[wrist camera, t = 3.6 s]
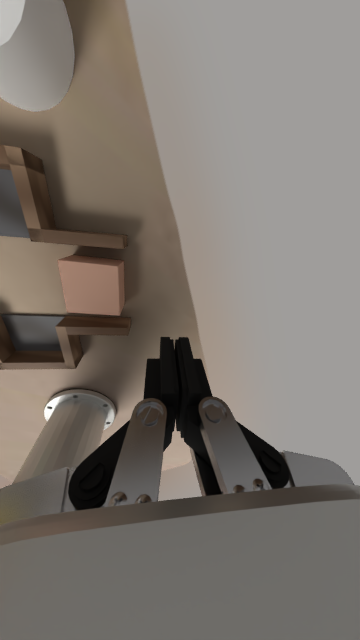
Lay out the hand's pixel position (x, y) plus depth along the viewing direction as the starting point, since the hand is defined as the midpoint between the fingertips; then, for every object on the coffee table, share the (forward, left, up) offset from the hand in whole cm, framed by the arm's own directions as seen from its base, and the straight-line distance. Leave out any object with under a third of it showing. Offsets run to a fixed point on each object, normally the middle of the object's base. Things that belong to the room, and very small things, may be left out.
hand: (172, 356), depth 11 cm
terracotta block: (0, +8, -16) cm, 18 cm away
